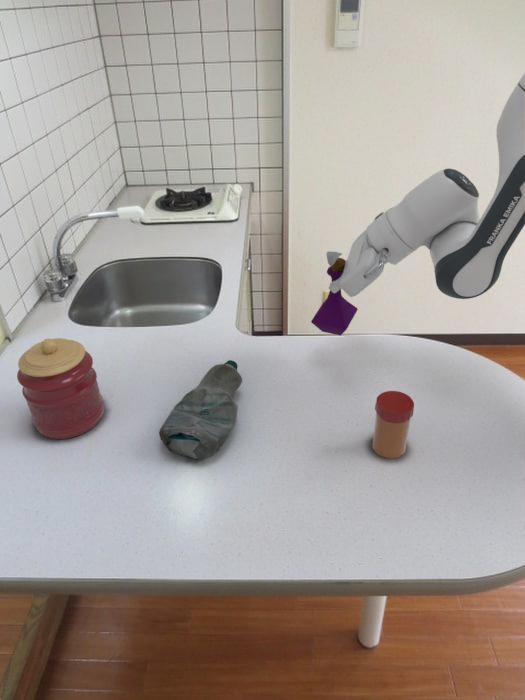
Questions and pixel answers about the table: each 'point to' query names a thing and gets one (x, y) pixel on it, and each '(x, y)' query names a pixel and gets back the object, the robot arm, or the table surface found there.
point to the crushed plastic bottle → (204, 414)
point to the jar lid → (394, 406)
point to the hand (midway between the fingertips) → (333, 283)
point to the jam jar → (390, 438)
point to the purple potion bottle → (334, 302)
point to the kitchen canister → (60, 388)
